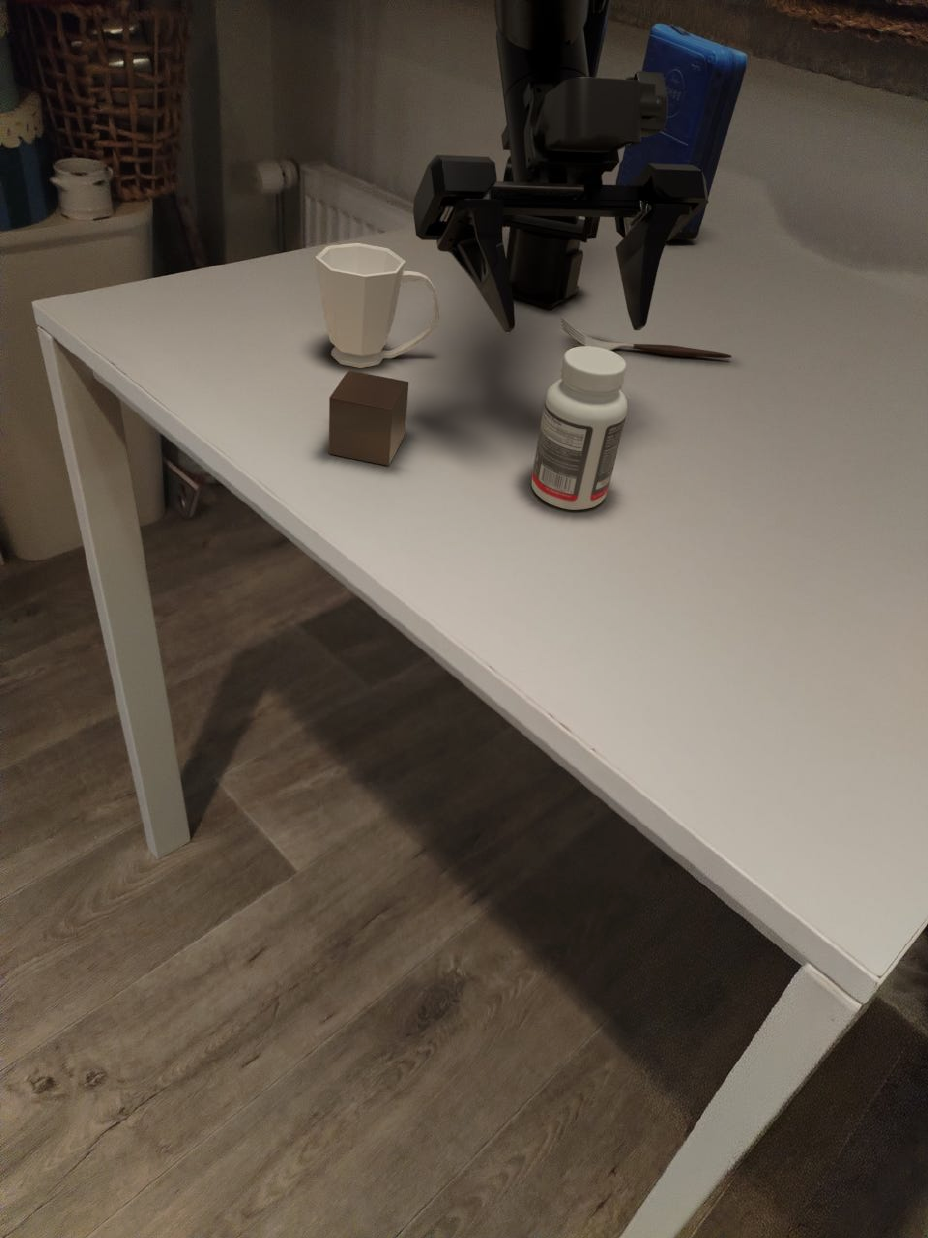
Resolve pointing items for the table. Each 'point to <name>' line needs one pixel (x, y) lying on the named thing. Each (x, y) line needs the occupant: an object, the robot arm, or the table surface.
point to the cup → (364, 301)
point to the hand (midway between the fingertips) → (576, 328)
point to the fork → (639, 345)
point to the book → (688, 107)
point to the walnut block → (367, 417)
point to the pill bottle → (581, 429)
